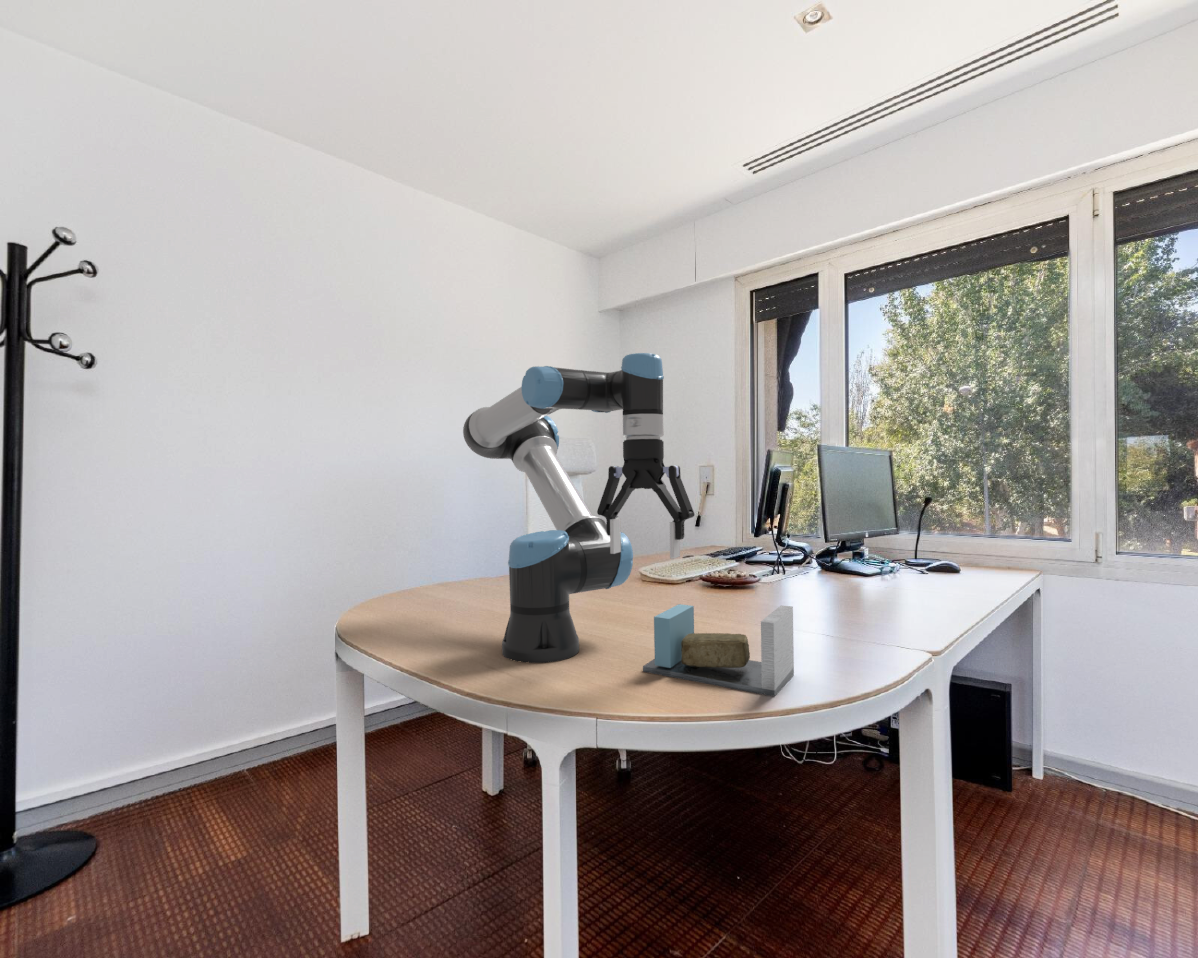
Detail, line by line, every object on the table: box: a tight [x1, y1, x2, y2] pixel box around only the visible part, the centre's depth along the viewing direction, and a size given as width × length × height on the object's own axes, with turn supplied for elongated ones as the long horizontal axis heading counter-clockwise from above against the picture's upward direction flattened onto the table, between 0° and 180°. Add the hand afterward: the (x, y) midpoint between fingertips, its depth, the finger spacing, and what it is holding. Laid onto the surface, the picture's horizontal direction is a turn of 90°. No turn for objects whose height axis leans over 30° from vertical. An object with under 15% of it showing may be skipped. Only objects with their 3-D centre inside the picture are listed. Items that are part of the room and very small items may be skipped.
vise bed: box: [642, 605, 795, 697], centre depth 101 cm, size 23×12×12 cm, turn 58°
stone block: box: [681, 632, 751, 668], centre depth 100 cm, size 6×12×5 cm, turn 70°
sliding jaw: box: [653, 603, 695, 668], centre depth 105 cm, size 3×11×8 cm, turn 148°
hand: (644, 555), depth 108 cm, fingers open, 12 cm apart
